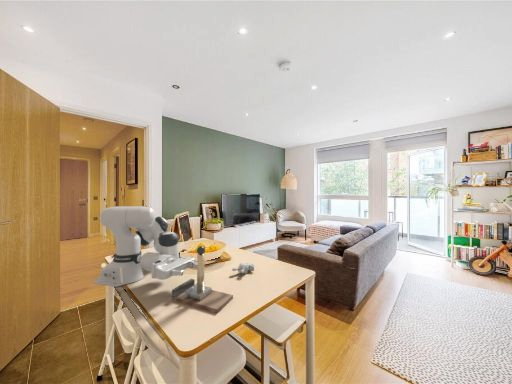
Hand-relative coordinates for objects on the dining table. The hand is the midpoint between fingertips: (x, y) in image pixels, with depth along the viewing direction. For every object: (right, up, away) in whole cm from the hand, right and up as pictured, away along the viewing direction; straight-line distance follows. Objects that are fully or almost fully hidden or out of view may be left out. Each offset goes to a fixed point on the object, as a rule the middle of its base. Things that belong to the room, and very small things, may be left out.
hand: (189, 269), depth 91 cm
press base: (+6, -12, -2) cm, 14 cm away
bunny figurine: (+23, -12, +27) cm, 38 cm away
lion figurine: (-22, -12, +40) cm, 47 cm away
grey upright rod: (+5, -10, -2) cm, 11 cm away
